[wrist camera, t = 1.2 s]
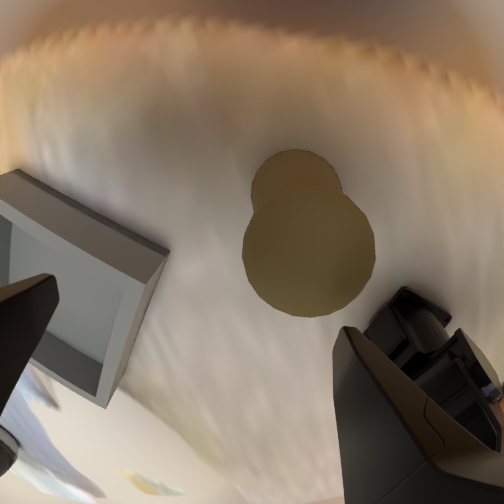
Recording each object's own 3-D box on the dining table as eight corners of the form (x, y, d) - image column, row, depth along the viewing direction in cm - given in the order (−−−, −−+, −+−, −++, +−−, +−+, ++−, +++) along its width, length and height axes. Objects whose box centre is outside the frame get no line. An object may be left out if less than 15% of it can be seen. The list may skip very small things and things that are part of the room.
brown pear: (236, 168, 20) (195, 222, 10) (324, 137, 19) (375, 160, 9) (269, 248, 22) (262, 357, 12) (352, 221, 21) (407, 313, 11)
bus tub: (170, 251, 23) (145, 284, 19) (123, 374, 29) (105, 409, 25) (17, 168, 21) (-22, 183, 17) (7, 301, 27) (-19, 325, 23)
